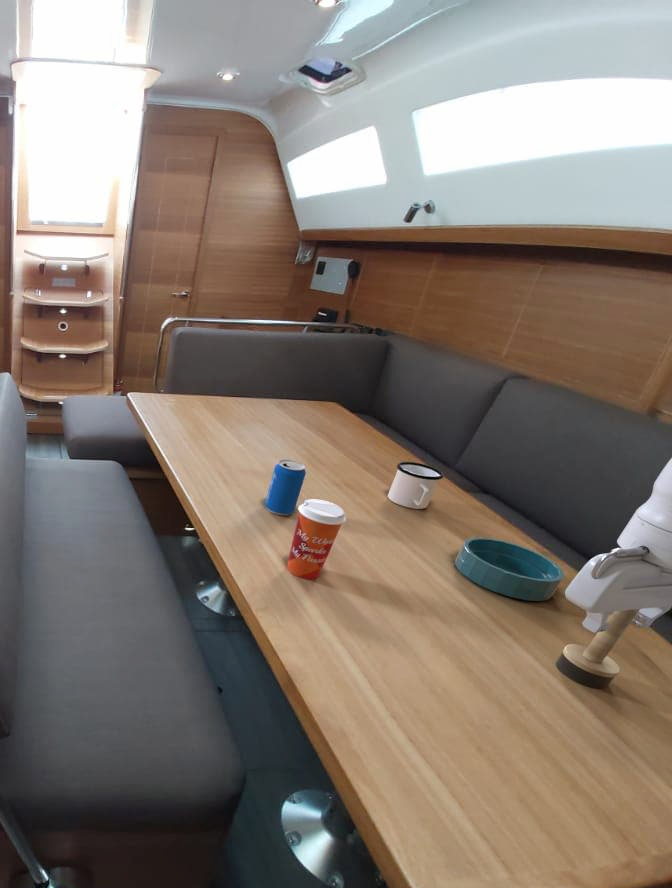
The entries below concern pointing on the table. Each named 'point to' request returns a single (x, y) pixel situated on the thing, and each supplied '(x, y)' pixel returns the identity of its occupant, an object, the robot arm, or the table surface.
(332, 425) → the table surface
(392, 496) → the mug
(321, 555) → the paper cup
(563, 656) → the wooden peg on disc
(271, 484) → the beverage can
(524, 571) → the bowl
